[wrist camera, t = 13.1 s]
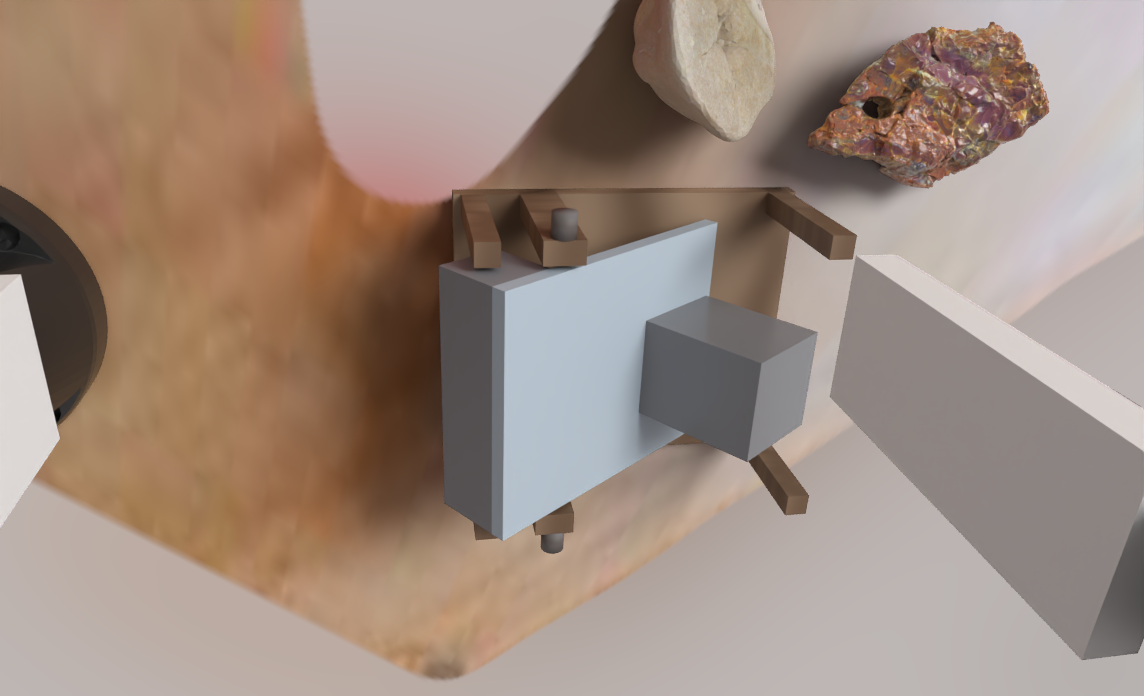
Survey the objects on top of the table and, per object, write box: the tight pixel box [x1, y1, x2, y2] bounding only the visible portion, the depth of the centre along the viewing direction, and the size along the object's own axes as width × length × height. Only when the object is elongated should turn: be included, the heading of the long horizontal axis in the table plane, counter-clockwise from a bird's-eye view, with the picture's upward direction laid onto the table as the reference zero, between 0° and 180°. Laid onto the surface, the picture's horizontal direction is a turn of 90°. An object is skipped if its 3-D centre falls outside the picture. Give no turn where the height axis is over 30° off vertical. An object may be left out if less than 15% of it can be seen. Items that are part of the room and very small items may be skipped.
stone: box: [633, 0, 775, 142], centre depth 42 cm, size 10×7×10 cm
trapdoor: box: [439, 219, 718, 541], centre depth 46 cm, size 16×13×4 cm
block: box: [639, 296, 818, 462], centre depth 47 cm, size 6×6×7 cm
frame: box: [452, 187, 857, 554], centre depth 47 cm, size 19×18×9 cm
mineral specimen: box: [808, 22, 1049, 188], centre depth 47 cm, size 12×8×7 cm
